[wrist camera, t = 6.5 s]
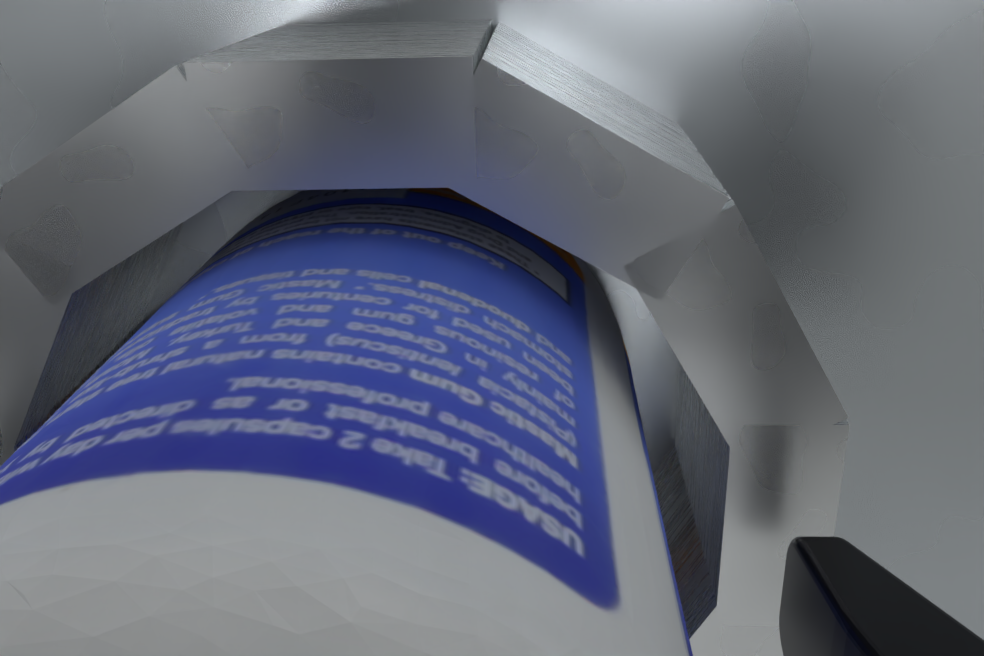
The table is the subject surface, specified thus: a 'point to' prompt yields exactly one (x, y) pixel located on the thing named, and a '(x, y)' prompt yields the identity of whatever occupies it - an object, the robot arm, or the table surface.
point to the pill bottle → (350, 456)
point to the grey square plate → (571, 228)
